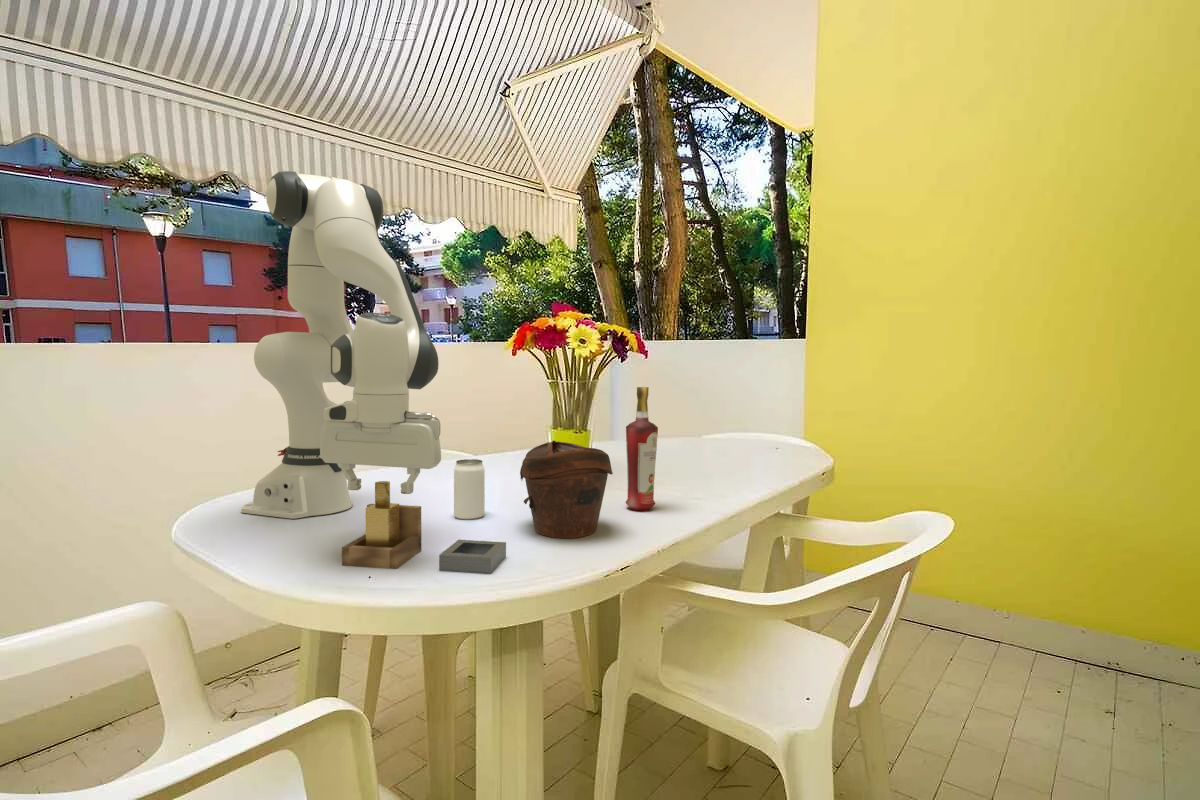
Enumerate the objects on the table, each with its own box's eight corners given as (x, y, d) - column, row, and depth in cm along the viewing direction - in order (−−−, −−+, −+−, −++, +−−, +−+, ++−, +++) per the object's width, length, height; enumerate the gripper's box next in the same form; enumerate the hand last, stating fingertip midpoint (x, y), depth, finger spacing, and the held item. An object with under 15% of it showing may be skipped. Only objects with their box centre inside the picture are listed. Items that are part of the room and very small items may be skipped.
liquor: (638, 503, 148) (640, 386, 146) (662, 508, 143) (665, 387, 141) (617, 508, 143) (620, 386, 141) (642, 514, 138) (644, 388, 136)
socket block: (439, 570, 100) (439, 555, 100) (458, 553, 108) (458, 539, 108) (490, 573, 99) (490, 558, 98) (506, 556, 107) (506, 542, 107)
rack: (342, 565, 101) (341, 517, 101) (370, 547, 111) (370, 503, 110) (397, 568, 100) (396, 520, 100) (421, 550, 110) (421, 506, 109)
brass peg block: (366, 560, 104) (365, 484, 103) (377, 553, 108) (377, 479, 107) (388, 562, 103) (388, 485, 102) (399, 554, 107) (399, 480, 106)
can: (488, 513, 136) (488, 459, 136) (479, 520, 130) (479, 464, 129) (459, 512, 137) (459, 458, 136) (449, 519, 131) (449, 463, 130)
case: (549, 512, 138) (549, 432, 136) (629, 526, 128) (630, 440, 126) (497, 532, 122) (497, 442, 121) (583, 550, 112) (584, 452, 111)
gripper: (447, 411, 106) (446, 491, 107) (335, 406, 108) (335, 483, 109) (432, 415, 99) (431, 499, 100) (314, 409, 102) (314, 491, 103)
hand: (380, 491), depth 105 cm, fingers open, 8 cm apart
